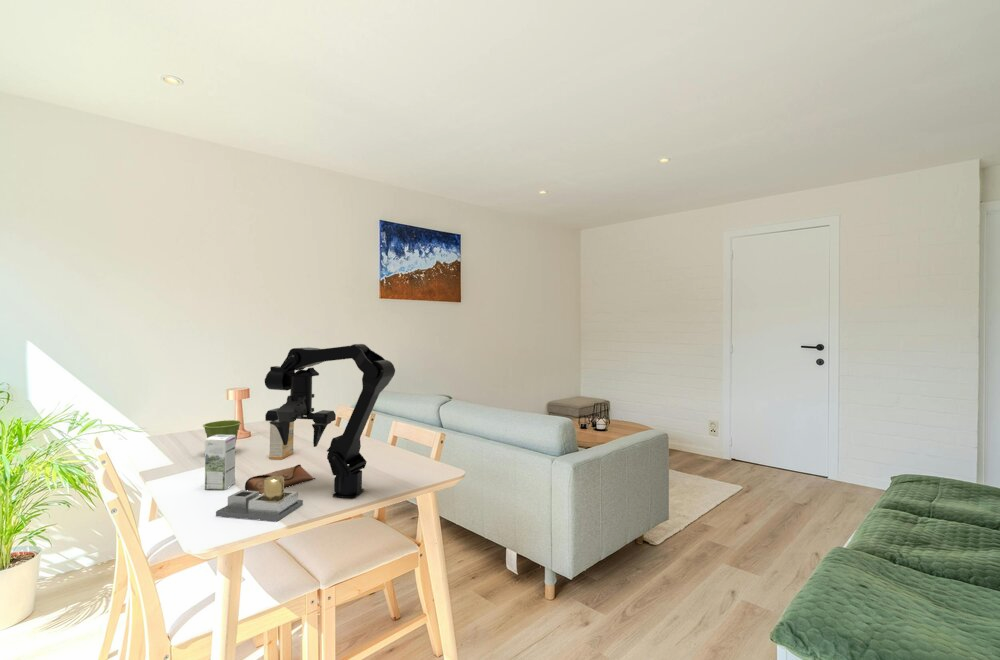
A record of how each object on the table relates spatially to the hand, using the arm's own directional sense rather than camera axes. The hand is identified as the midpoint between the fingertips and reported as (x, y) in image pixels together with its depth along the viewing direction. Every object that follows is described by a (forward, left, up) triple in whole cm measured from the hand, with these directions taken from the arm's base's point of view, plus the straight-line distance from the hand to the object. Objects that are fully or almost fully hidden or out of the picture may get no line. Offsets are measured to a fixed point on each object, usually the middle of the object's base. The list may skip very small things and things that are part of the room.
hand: (300, 445), depth 134 cm
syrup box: (+22, +4, -12) cm, 25 cm away
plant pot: (+45, -25, -12) cm, 53 cm away
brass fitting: (-3, +17, -11) cm, 20 cm away
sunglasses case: (+7, -2, -13) cm, 14 cm away
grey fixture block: (0, +17, -12) cm, 21 cm away
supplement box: (+24, -28, -12) cm, 39 cm away
